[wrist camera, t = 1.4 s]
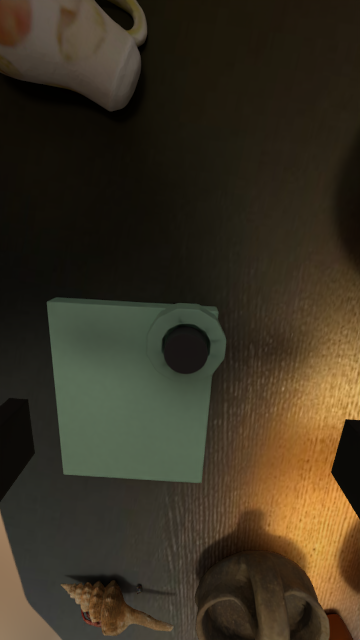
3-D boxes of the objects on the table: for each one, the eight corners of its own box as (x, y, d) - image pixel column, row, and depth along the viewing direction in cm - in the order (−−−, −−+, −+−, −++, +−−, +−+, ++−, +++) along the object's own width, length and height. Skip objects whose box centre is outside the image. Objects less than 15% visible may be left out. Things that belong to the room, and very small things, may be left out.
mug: (134, 155, 20) (-17, 87, 12) (60, 96, 23) (-105, 7, 14) (185, 31, 16) (18, -192, 8) (90, -22, 19) (-109, -233, 11)
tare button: (166, 324, 21) (164, 332, 19) (208, 327, 21) (209, 335, 19) (164, 362, 22) (163, 373, 20) (204, 364, 22) (206, 375, 20)
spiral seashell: (74, 599, 36) (59, 648, 32) (64, 575, 34) (46, 623, 30) (175, 594, 35) (173, 644, 31) (169, 569, 33) (167, 618, 29)
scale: (55, 290, 23) (33, 299, 20) (223, 300, 23) (229, 311, 20) (70, 461, 29) (54, 491, 25) (205, 469, 29) (208, 500, 25)
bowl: (195, 603, 35) (198, 739, 26) (190, 504, 30) (192, 627, 21) (301, 603, 35) (344, 742, 25) (315, 502, 30) (376, 628, 20)
